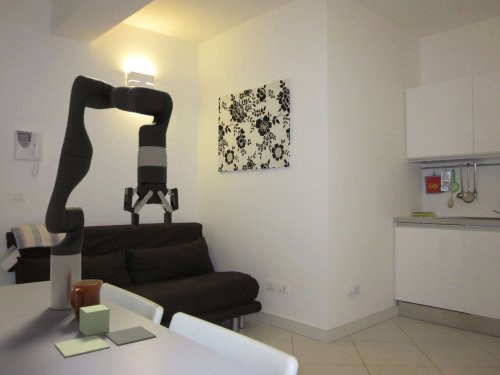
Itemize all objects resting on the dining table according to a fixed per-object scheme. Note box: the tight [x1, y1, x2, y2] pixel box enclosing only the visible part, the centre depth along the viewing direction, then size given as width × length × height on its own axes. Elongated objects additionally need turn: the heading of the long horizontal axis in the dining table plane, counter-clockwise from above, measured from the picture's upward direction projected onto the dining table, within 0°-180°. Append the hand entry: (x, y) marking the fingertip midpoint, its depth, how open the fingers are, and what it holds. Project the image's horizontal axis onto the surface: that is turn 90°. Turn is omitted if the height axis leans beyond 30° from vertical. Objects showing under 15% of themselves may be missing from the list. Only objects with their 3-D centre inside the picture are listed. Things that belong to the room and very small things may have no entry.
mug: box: [70, 279, 104, 320], centre depth 121 cm, size 12×9×10 cm
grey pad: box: [103, 325, 157, 346], centre depth 106 cm, size 10×10×1 cm
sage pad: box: [54, 334, 111, 358], centre depth 98 cm, size 10×10×1 cm
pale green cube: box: [79, 303, 111, 337], centre depth 110 cm, size 6×6×6 cm
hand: (151, 227), depth 106 cm, fingers open, 8 cm apart
